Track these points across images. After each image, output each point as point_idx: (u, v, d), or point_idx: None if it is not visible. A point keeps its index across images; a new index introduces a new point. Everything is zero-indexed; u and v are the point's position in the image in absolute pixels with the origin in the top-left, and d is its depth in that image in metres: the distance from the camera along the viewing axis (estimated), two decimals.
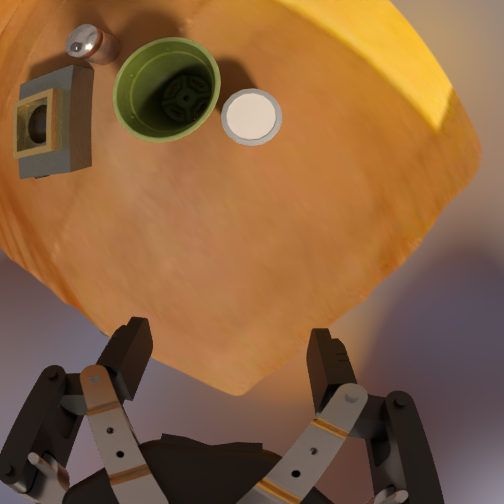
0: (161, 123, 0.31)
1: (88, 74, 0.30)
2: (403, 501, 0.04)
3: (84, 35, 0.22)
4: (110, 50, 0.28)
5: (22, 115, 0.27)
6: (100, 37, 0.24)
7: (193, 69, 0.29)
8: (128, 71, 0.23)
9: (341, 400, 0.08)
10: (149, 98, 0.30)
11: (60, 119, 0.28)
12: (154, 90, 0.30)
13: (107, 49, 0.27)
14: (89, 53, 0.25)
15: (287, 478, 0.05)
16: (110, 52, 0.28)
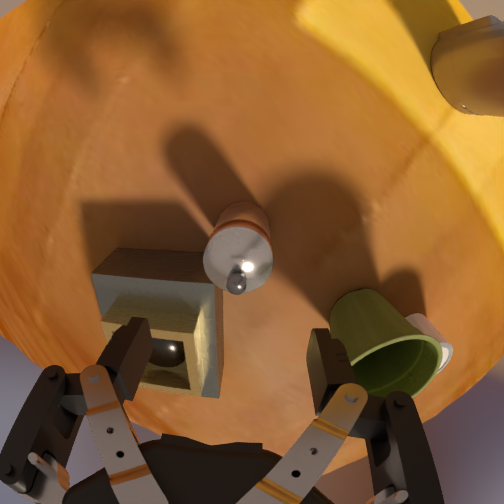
0: None
1: None
2: (403, 501, 0.04)
3: (248, 258, 0.20)
4: None
5: None
6: None
7: (385, 302, 0.27)
8: None
9: (341, 400, 0.08)
10: (333, 337, 0.28)
11: (201, 354, 0.26)
12: None
13: None
14: None
15: (287, 478, 0.05)
16: None
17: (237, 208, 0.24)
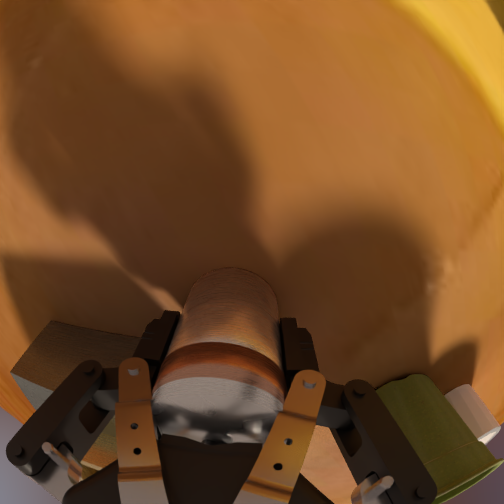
0: None
1: None
2: (390, 486, 0.05)
3: (237, 430, 0.08)
4: None
5: None
6: None
7: (439, 398, 0.15)
8: None
9: (300, 388, 0.09)
10: None
11: None
12: None
13: None
14: None
15: (271, 472, 0.05)
16: None
17: (217, 292, 0.12)
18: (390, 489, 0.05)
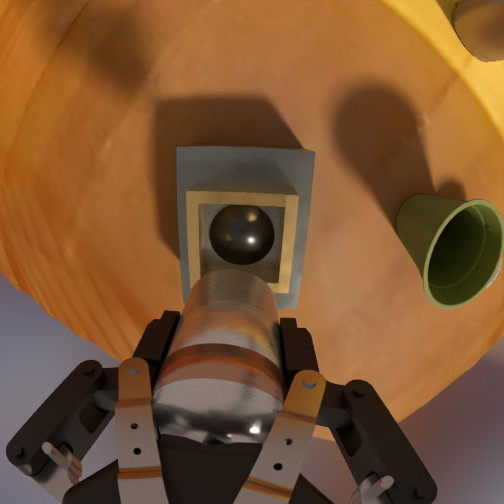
0: None
1: None
2: (390, 486, 0.05)
3: (237, 431, 0.08)
4: None
5: (201, 214, 0.24)
6: None
7: None
8: None
9: (300, 388, 0.09)
10: None
11: None
12: None
13: None
14: None
15: (271, 472, 0.05)
16: None
17: (217, 293, 0.12)
18: (390, 489, 0.05)
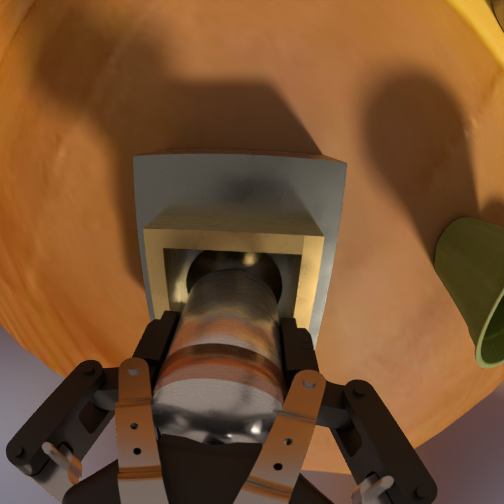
0: None
1: None
2: (390, 486, 0.05)
3: (237, 431, 0.08)
4: None
5: (171, 260, 0.16)
6: None
7: None
8: None
9: (300, 388, 0.09)
10: None
11: None
12: None
13: None
14: None
15: (271, 472, 0.05)
16: None
17: (217, 293, 0.12)
18: (390, 489, 0.05)
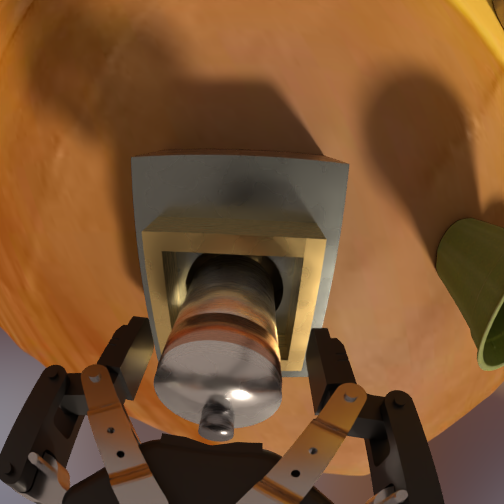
0: None
1: None
2: (403, 501, 0.04)
3: (235, 392, 0.10)
4: None
5: (170, 263, 0.15)
6: None
7: None
8: None
9: (340, 400, 0.08)
10: None
11: None
12: None
13: None
14: None
15: (287, 478, 0.05)
16: None
17: (218, 273, 0.14)
18: None
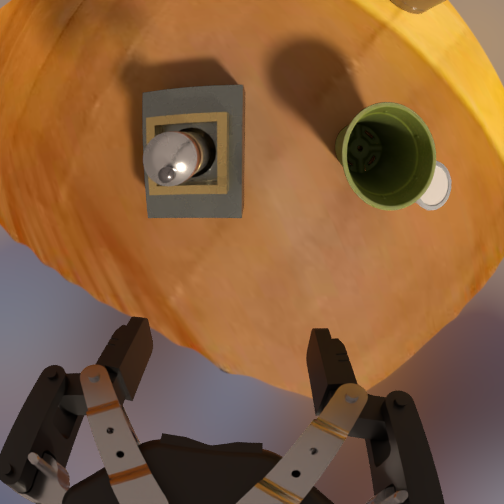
0: (355, 178, 0.32)
1: (244, 97, 0.32)
2: (403, 501, 0.04)
3: (176, 153, 0.23)
4: (204, 163, 0.28)
5: None
6: (199, 156, 0.24)
7: (377, 124, 0.31)
8: None
9: (341, 400, 0.08)
10: (339, 148, 0.32)
11: (229, 152, 0.30)
12: (340, 138, 0.32)
13: (202, 164, 0.28)
14: None
15: (287, 478, 0.05)
16: (203, 165, 0.29)
17: None
18: None
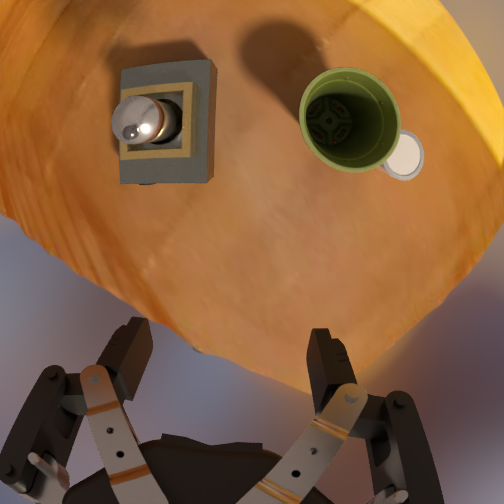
0: (320, 146, 0.33)
1: (215, 73, 0.32)
2: (403, 501, 0.04)
3: (139, 114, 0.23)
4: (169, 128, 0.28)
5: None
6: (161, 117, 0.24)
7: (345, 96, 0.31)
8: (312, 90, 0.25)
9: (341, 400, 0.08)
10: None
11: (195, 120, 0.30)
12: None
13: (167, 128, 0.28)
14: (148, 140, 0.25)
15: (287, 478, 0.05)
16: (169, 130, 0.29)
17: None
18: None
